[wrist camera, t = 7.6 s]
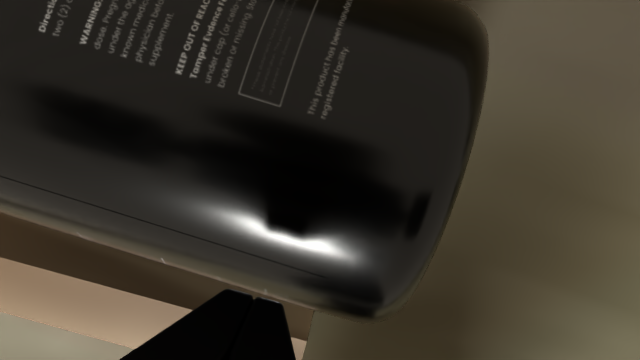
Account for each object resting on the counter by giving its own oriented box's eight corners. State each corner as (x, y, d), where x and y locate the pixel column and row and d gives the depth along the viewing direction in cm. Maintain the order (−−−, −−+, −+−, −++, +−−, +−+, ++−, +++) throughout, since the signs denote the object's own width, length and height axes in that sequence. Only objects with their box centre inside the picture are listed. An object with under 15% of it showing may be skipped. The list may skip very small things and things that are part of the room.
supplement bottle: (448, 43, 14) (24, -93, 14) (549, -34, 7) (-262, -294, 7) (368, 280, 15) (-36, 149, 15) (394, 407, 8) (-348, 168, 8)
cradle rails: (305, 334, 18) (292, 392, 15) (-64, 233, 18) (-130, 275, 16) (440, -139, 12) (451, -159, 9) (-115, -280, 12) (-234, -331, 10)
